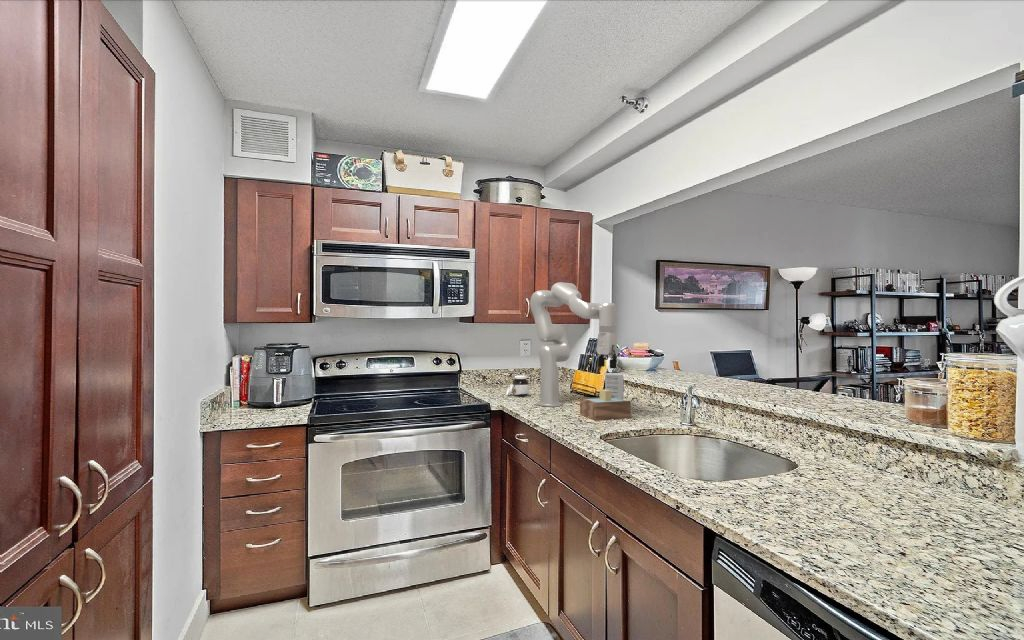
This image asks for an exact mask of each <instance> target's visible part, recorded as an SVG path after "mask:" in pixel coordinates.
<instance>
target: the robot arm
mask: <svg viewBox="0 0 1024 640" xmlns="http://www.w3.org/2000/svg"><path fill="white" fill-rule="evenodd" d="M582 297H583V296H582V294H581V292H580V291H579V290H578V287H577V286H576V285H575V284H574V283H570V282H561V281H559V282H556V283H554V284H553V285H552V286H551V288H550V290H546V289H542V290H541V289H540V290H537V291H535V292H533V293H532V294H531V297H530V301H529V304H530V305H529V307H530V310H531V313H532V315H533V319H534V323H535V327H536V328H535V329H536V333H537V337H538V340H539V341H540V342H542V343H546V344H543V345H542V346H540V348H539V350H538V356H539V364H540V365H539V366H540V393H539V394H540V396H539V399H540V400H539V401H537V405H538V406H540V407H550V408H551V407H552V408H553V407H562V404H563V403H562V402H561V401H560V399H559V398H560V397H559V396H560V369H559V366H558V364H557V363H561V362H566V361H567V360H569V358H570V356H571V350H570V349H571V348H570V345H569V340H568V337H567V332H566V329H565V328H564V327H563V326H562V325H561V324H557V323H555V324H554V323H552V318H551V315H550V313H549V311H548V310H547V309H546V307H548V308H549V307H551V308H553V307H554V308H556V307H561V306H563V305H565V304H566V305H567V306H568V308H569V310H570V311H571V312H572V313H573V314H575V315H576V316H578V317H579V318H582V319H585V320H598V334H597V342H596V349H595V350H596V355H597V366H598V367H599V368H602V367H605V356H609V358H610V359H609V369H617V360H618V358H619V352H620V349H618V347H617V335H616V333H617V331H616V330H617V327H616V326H617V306H616V303H613V302H602V303H600V302H599V303H597V302H586V301H584V300H582Z"/></svg>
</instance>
